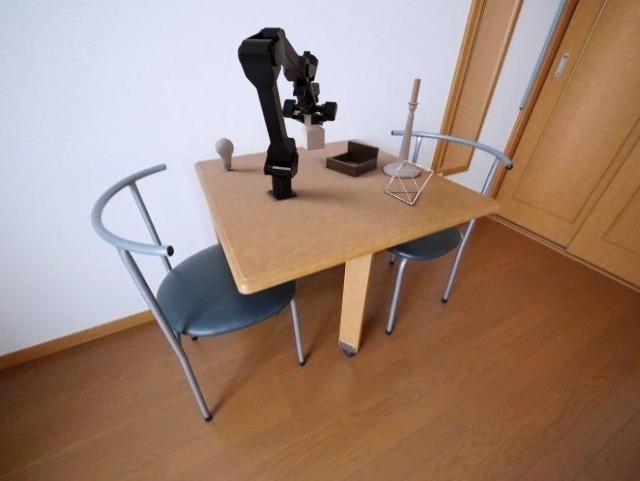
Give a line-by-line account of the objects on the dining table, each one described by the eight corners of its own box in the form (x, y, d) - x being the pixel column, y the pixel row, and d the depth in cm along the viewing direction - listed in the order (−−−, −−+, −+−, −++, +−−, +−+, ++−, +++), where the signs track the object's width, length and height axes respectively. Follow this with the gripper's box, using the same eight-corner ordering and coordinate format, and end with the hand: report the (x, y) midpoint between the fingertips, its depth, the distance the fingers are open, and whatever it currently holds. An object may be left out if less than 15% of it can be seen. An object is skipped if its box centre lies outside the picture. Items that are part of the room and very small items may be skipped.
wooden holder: (354, 177, 99) (356, 155, 95) (326, 167, 106) (326, 147, 102) (376, 167, 107) (379, 147, 103) (348, 159, 114) (349, 140, 110)
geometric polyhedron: (380, 198, 85) (384, 168, 80) (390, 185, 93) (394, 157, 88) (422, 207, 80) (430, 177, 75) (429, 193, 89) (436, 164, 83)
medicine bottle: (317, 143, 113) (317, 110, 106) (324, 148, 108) (325, 114, 101) (300, 145, 111) (299, 112, 104) (307, 150, 105) (306, 116, 98)
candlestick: (426, 175, 102) (449, 78, 85) (397, 180, 97) (416, 79, 80) (403, 164, 111) (419, 75, 95) (376, 168, 107) (388, 75, 90)
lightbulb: (238, 171, 101) (233, 139, 94) (220, 173, 99) (214, 141, 93) (235, 166, 105) (231, 135, 99) (218, 168, 103) (212, 136, 97)
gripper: (338, 74, 91) (342, 107, 106) (283, 72, 95) (294, 104, 110) (331, 104, 89) (337, 134, 104) (275, 101, 93) (288, 130, 108)
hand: (314, 124), depth 106 cm, fingers closed on medicine bottle, 6 cm apart
